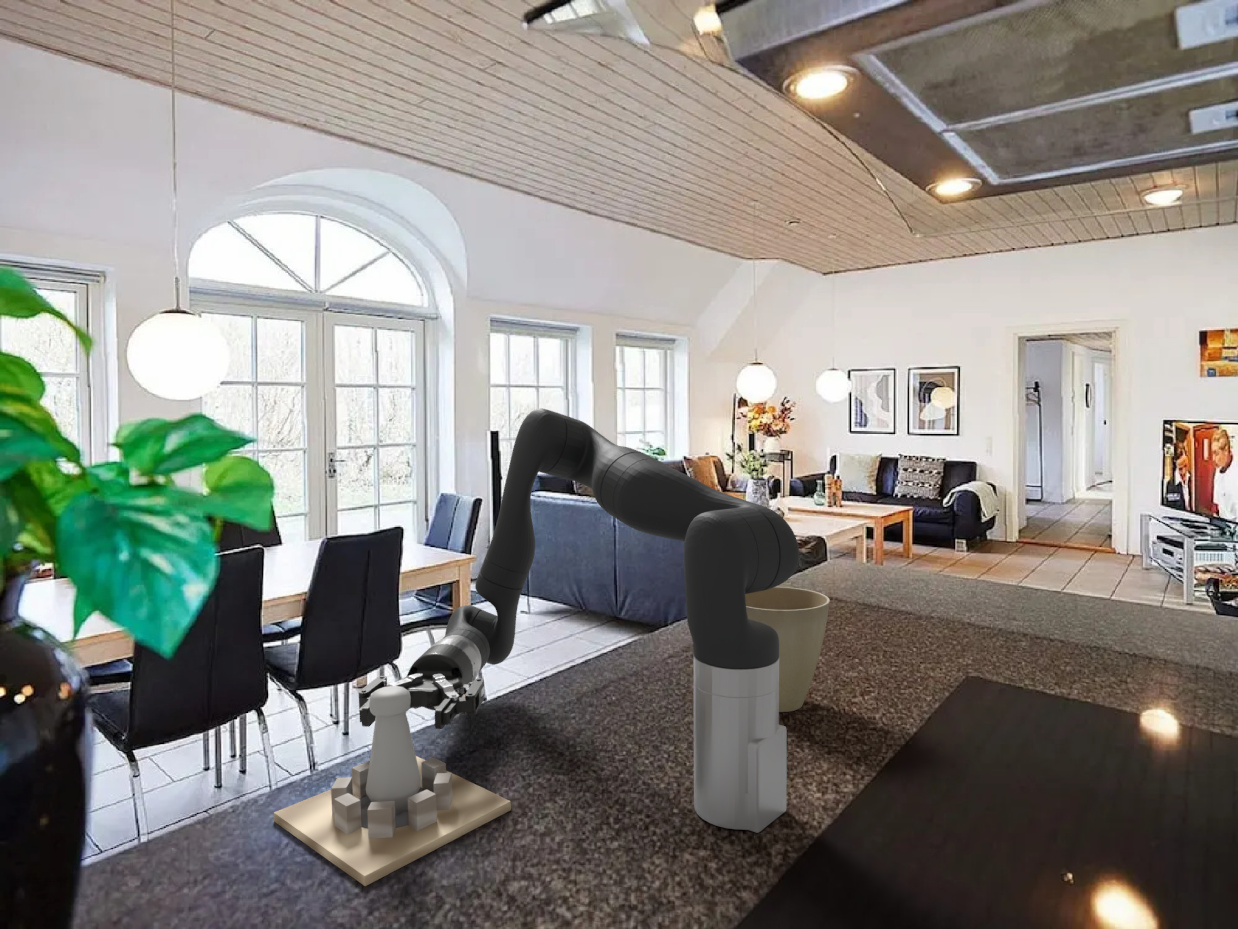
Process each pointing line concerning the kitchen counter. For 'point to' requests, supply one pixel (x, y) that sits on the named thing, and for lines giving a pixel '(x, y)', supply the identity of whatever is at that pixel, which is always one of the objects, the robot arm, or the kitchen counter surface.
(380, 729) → the salt shaker
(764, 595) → the plant pot
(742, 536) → the robot arm
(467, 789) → the stonehenge model
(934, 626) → the kitchen counter surface
